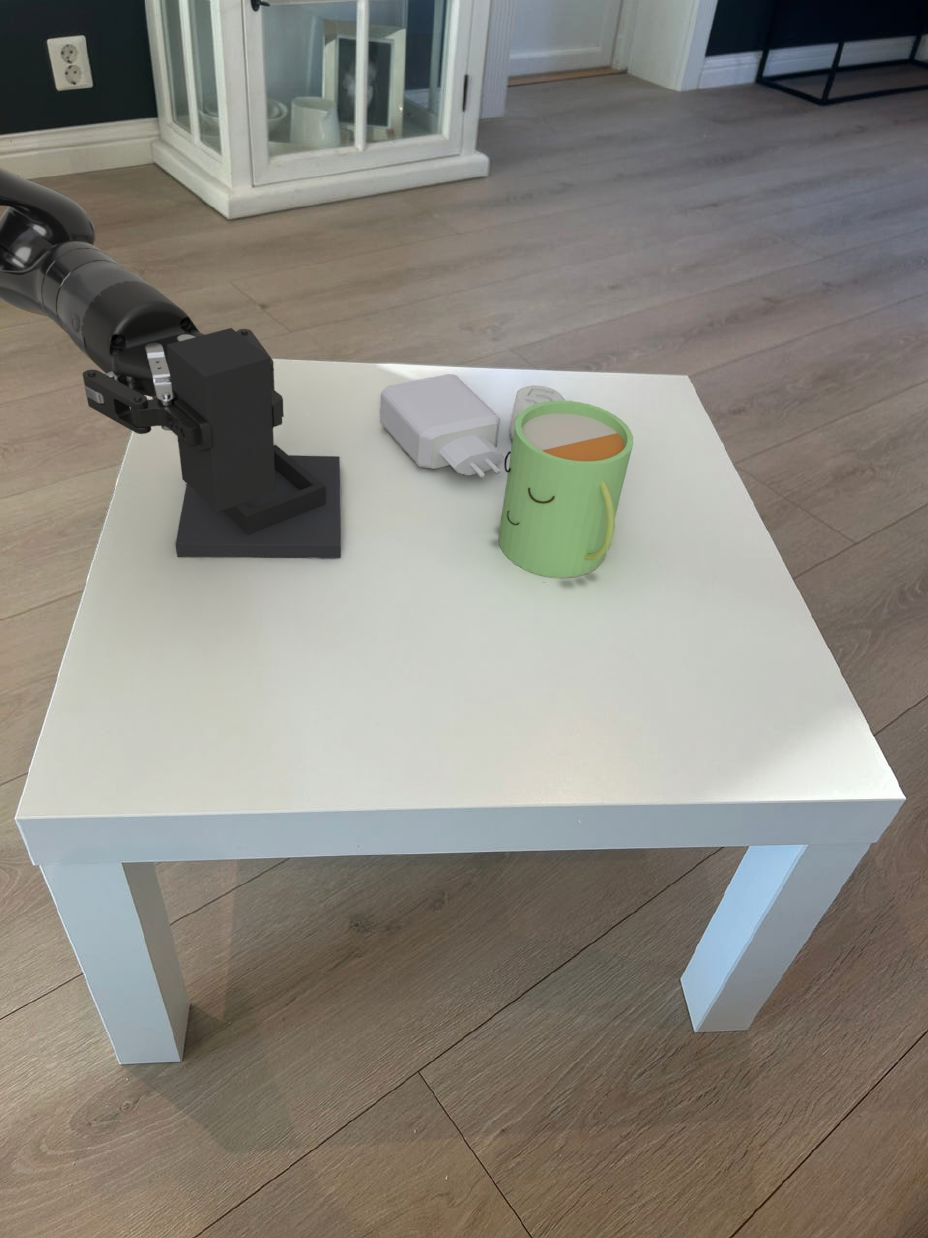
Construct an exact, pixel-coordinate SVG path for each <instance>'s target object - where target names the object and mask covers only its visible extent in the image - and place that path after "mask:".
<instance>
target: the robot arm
mask: <svg viewBox="0 0 928 1238" xmlns="http://www.w3.org/2000/svg"><path fill="white" fill-rule="evenodd" d="M0 207H7V208H6V209H5V210H4V212H3V213H2V215H1V216H0V300H1V301H3V302H4V303H6V304H8V305H10V306H11V307H15V308H17V309H20V310H22V311H25V312H28V313H32V314H35V315H38V316H39V315H40V316H43V317H48V319H50V320H52V321H53V322H54V323H55V324H56V325H57V326H58V327H59V328H61V329H62V330H63V331H64V332H65V333H66V334H67V335H68V337H69V338H70V339H71V341H72V342H73V344H74V345H75V346H76V347H77V348H78V349H79V350H80V352H82V353H83V355H85V356H86V357H87V358H88V359H90V360H91V361H92V362H93V363H94V364H95V365H96V366H97V367H98V368H99V369H100V370H101V371H100V370H97V369H87V370H84V371H83V372H82V380H83V386H84V392H85V396H86V400H87V405H88V407H89V408H91V409H93V410H95V411H96V412H97V413H100V414H101V415H103V416H105V417H107V418H109V419H111V420H112V421H114V422H115V423H118V424H120V425H121V426H123V427H124V428H126V429H128V430H130V431H131V432H134V433H135V434H139V435H145V434H146V435H147V434H149V433H150V432H151V431H152V427H161V429H162V430H164V431H171V432H172V433H173V434H174V435H175V436H176V437H177V436H178V437H179V438H180V439H181V440H182V441H183V442H184V443H185V444H187V445H189V446H192V447H194V446H196V447H197V448H198V449H200V450H201V451H205V450H208V449H211V448H212V447H213V444H212V433H211V426H210V424H209V423H208V421H207V420H206V419H205V418H203V417H202V416H201V415H200V414H199V413H198V412H197V411H196V410H194V409H193V408H192V407H191V406H190V405H189V404H188V403H186V402H185V401H184V400H183V399H180V400H176V397H175V392H174V390H173V389H172V386H171V378H170V369H169V361H168V352H167V345H168V344H172V343H175V342H179V341H183V340H187V339H191V338H194V337H198V336H202V335H206V334H205V333H203V332H201V331H200V330H199V329H198V328H197V326H196V324H195V323H194V322H193V320H192V319H191V317H190V316H189V315H188V314H187V312H185V311H184V310H183V309H182V308H181V307H180V306H178V305H177V304H176V303H174V301H173V300H171V299H169V298H168V297H167V296H166V295H164V294H163V293H161V291H159V290H158V289H157V288H156V287H154V286H153V285H151V284H150V282H148V281H146V279H144V278H143V277H141V276H140V275H138V274H136V273H135V272H134V271H131V270H129V269H127V268H124V266H123V265H121V264H120V263H118V262H117V261H116V260H115V259H113V257H111V256H110V255H109V254H107V253H106V252H105V251H104V250H102V249H101V248H99V247H97V246H96V239H97V233H96V229H95V225H94V223H93V221H92V219H91V217H90V215H89V214H88V212H86V210H85V209H84V208H83V207H82V206H81V205H80V204H79V203H77V202H76V201H75V200H73V198H70V197H69V196H67V195H65V194H63V193H61V192H58V191H56V190H55V189H52V188H50V187H47V186H45V185H42V184H41V183H37V182H35V181H32V180H30V179H27V178H24V177H22V176H20V175H18V174H15V173H13V172H10V171H8V170H6V169H5V168H2V167H0ZM236 332H237V333H239V334H240V335H241V336H243V337H244V338H245V339H246V340H248V341H249V342H250V343H252V344H253V345H254V346H256V347H257V348H258V349H260V350H261V351H262V352H263V353H265V354H266V355H267V356H269V357H270V366H271V391H272V417H273V428H276V427H279V426H281V425H282V424H283V418H284V416H285V414H284V397H283V395H282V394H280V393H279V392H278V391H277V390H276V389H275V366H274V363H275V362H274V359H273V358H272V357H271V356H270V354H269V353H268V351H267V350H266V348H265V347H264V346H263V345H262V343H261V342H260V341H259V339H258V337H257V336H256V335H255V334H254V332H253V331H252V330H251V329H249V328H239V329H238V330H236ZM148 397H151V399H148ZM178 437H177V438H178Z"/></svg>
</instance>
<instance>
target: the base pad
mask: <svg viewBox="0 0 928 1238" xmlns="http://www.w3.org/2000/svg"><path fill="white" fill-rule="evenodd" d="M340 458H341V457H340V456H339V455H302V454H301V455H300V454H299V455H296V454H288V453H287V452H285V450H283V449H282V448H281V447H279V446H278V445H277V444H274V466H275V491H273V492H271V493H268V494H265V495H263V496H260V497H257V498H255V499H252V500H249V501H247V502H244V503H241V504H239V505H236V506H233V507H231V508H228V509H225V510H223V511H220V512H216V511H215V510H214V509H213V508H212V507H211V506H210V505H209V504H208V503H207V502H206V501H205V500H204V499H202V498H201V497H200V496H199V495H198V494H197V493H196V492H195V491H194V490H193V489H192V488H191V487H190V486H189V485H188V484H187V483H186V485H185V491H184V496H183V500H182V506H181V513H180V517H179V523H178V529H177V534H176V538H175V548H176V549H175V551H176V556H177V558H259V559H261V558H264V559H265V558H267V559H270V558H271V559H273V558H275V559H341V557H342V554H341V553H342V540H341V539H342V538H341V537H342V535H341V534H342V532H341V531H342V530H341V529H342V527H341V526H342V525H341V466H340V465H341V464H340V463H341V461H340V460H341V459H340Z"/></svg>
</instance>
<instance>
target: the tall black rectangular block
mask: <svg viewBox="0 0 928 1238" xmlns="http://www.w3.org/2000/svg"><path fill="white" fill-rule="evenodd" d="M167 352H168V361H169V369H170V378H171V386H172V389H173V390H174V392H175V397H176V400H180V399H183V400H184V401H185V402H186V403H188V404H189V405H190V406H191V407H192V408H193V409H194V410H196V411H197V412H198V413H199V414H200V415H201V416H202V417H203V418H205V419H206V420H207V421H208V423H209V424H210V426H211V433H212V444H213V447H212V448H211V449H208V450H205V451H201V450H200V449H198V448H197V447H196V446H194V447H192V446H189V445H187V444H185V443H184V442H183V441H182V440H181V439H180V438H179V437H178V436H177V435H176V437H177V442H178V443H177V445H178V453H179V460H180V461H179V462H180V470H181V477H182V478H181V479H182V481H184V483H186V485H187V484H188V485H189V486H190V487H191V488H192V489H193V490H194V491H195V492H196V493H197V494H198V495H199V496H200V497H201V498H202V499H204V500H205V501H206V502H207V503H208V504H209V505H210V506H211V507H212V508H213V509H214V510H215V511H216V512H220V511H223V510H225V509H228V508H231V507H233V506H236V505H239V504H241V503H244V502H247V501H249V500H252V499H255V498H257V497H260V496H263V495H265V494H268V493H271V492H273V491H275V466H274V445H275V444H274V427H273V417H272V391H271V366H270V357H271V356H270V355H269V356H270V357H269V356H267V355H266V354H265V353H263V352H262V351H261V350H260V349H258V348H257V347H256V346H254V345H253V344H252V343H250V342H249V341H248V340H246V339H245V338H244V337H243V336H241V335H240V334H239V333H237V330H235V329H233V328H232V327H229V328H225V329H222V330H217V331H214V332H210V333H206V334H205V335H202V336H198V337H194V338H191V339H187V340H183V341H179V342H175V343H172V344H168V345H167Z"/></svg>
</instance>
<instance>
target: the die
mask: <svg viewBox="0 0 928 1238" xmlns="http://www.w3.org/2000/svg"><path fill="white" fill-rule="evenodd" d="M548 401H566V399H565V398H564V396H563V395H562V394H561V392H559V391H557V390H556V389H554V388H551V387H548V386H545V385H528V386H525V387H522V388H521V389H519V390H517V392H516V393H515V398H514V401H513V407H512V412H511V418H510V424H509V432H508V436H509V438H510V439H511V441H512V442H513V435H514V428H515V422H516V419H517V417H518V416H519V414H520V413H521V412H522V411H523V410H525V409H526V408H528V407H530V406H532V405H535V404H538V403H542V402H548Z"/></svg>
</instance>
